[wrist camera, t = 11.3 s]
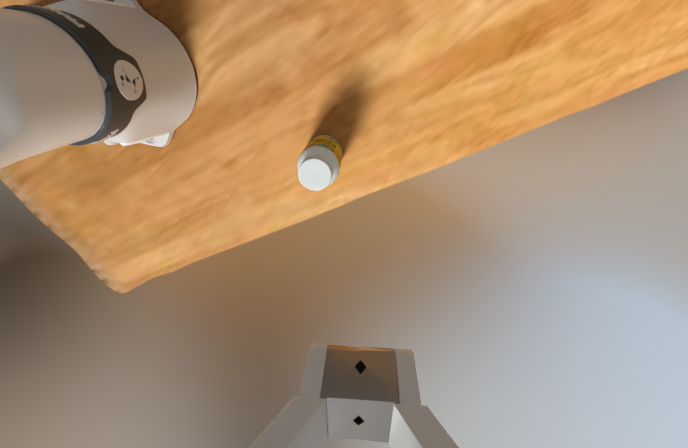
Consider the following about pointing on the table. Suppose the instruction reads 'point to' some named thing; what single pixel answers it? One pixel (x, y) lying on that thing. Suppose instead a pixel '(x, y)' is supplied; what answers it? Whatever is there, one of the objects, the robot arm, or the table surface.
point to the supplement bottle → (319, 162)
